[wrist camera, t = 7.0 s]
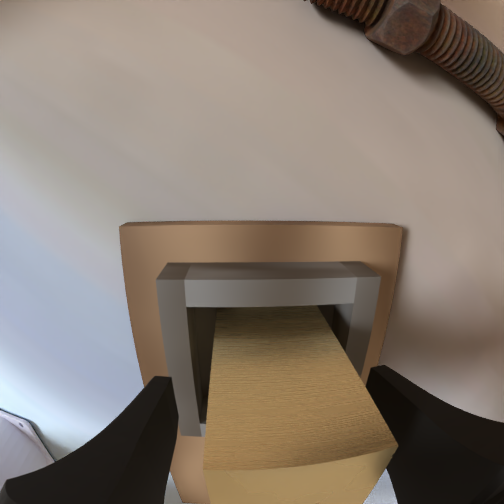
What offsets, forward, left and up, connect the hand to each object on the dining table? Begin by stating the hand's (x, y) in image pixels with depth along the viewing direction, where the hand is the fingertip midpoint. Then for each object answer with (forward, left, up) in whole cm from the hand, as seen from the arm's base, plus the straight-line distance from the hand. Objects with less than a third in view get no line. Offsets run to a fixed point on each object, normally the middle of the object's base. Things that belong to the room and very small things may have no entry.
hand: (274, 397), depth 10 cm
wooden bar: (0, 0, -3) cm, 3 cm away
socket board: (0, -6, -4) cm, 7 cm away
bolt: (+9, +15, -5) cm, 18 cm away
